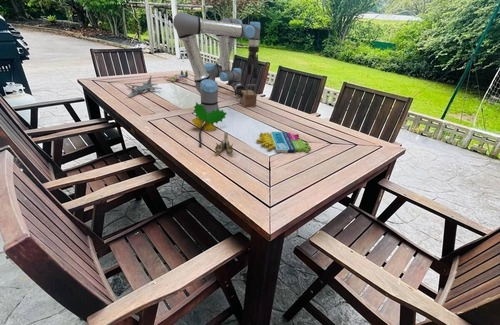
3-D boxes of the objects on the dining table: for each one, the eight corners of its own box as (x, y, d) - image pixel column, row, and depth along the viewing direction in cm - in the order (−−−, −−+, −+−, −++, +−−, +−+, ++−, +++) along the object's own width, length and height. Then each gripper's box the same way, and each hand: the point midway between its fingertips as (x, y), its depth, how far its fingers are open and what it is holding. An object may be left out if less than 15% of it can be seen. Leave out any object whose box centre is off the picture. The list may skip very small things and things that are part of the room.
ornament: (218, 133, 171) (224, 110, 169) (221, 134, 163) (227, 111, 161) (186, 125, 162) (192, 101, 160) (189, 126, 155) (195, 101, 153)
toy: (196, 71, 285) (184, 76, 259) (196, 78, 288) (184, 83, 262) (173, 69, 290) (158, 73, 264) (173, 75, 293) (159, 80, 267)
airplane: (121, 87, 235) (119, 76, 230) (157, 85, 248) (156, 74, 243) (125, 100, 206) (123, 87, 201) (166, 97, 219) (165, 85, 214)
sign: (313, 150, 142) (258, 149, 139) (312, 153, 143) (258, 152, 140) (301, 132, 164) (254, 130, 161) (301, 134, 165) (254, 133, 162)
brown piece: (257, 96, 206) (257, 84, 201) (245, 96, 203) (246, 84, 198) (251, 91, 217) (252, 80, 213) (240, 91, 214) (241, 80, 210)
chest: (255, 106, 211) (256, 96, 206) (244, 107, 208) (245, 96, 204) (250, 102, 221) (251, 91, 217) (240, 102, 219) (240, 91, 214)
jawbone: (234, 135, 144) (233, 125, 135) (233, 160, 138) (232, 151, 129) (217, 135, 144) (216, 125, 135) (216, 160, 138) (214, 150, 129)
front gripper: (264, 48, 179) (262, 79, 190) (253, 44, 200) (251, 73, 210) (254, 47, 177) (252, 79, 187) (243, 43, 197) (242, 73, 208)
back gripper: (251, 92, 237) (259, 99, 219) (227, 93, 230) (234, 100, 212) (251, 84, 233) (260, 91, 215) (227, 84, 227) (234, 91, 208)
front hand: (251, 76), depth 199 cm, fingers open, 13 cm apart
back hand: (247, 95), depth 213 cm, fingers closed on chest, 9 cm apart
